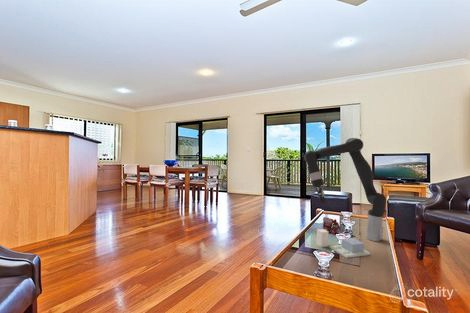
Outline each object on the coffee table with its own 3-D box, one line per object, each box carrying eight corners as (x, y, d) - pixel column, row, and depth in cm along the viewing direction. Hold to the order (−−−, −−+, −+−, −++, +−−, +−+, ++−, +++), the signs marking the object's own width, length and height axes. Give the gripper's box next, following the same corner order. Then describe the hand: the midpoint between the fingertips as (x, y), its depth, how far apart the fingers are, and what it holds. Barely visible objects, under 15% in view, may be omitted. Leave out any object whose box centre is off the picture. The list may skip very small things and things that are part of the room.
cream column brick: (322, 243, 164) (323, 229, 163) (327, 246, 159) (328, 231, 159) (316, 243, 162) (317, 229, 162) (321, 246, 158) (322, 232, 157)
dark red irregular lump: (338, 235, 180) (339, 221, 179) (320, 231, 187) (321, 217, 187) (340, 233, 185) (341, 219, 185) (323, 229, 193) (324, 216, 192)
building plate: (352, 245, 163) (352, 236, 162) (370, 254, 149) (371, 244, 149) (329, 247, 157) (330, 238, 156) (346, 257, 144) (347, 247, 143)
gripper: (320, 177, 162) (328, 202, 158) (323, 178, 175) (330, 201, 171) (309, 180, 165) (316, 204, 161) (312, 181, 177) (319, 203, 174)
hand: (323, 202), depth 166 cm, fingers open, 8 cm apart
